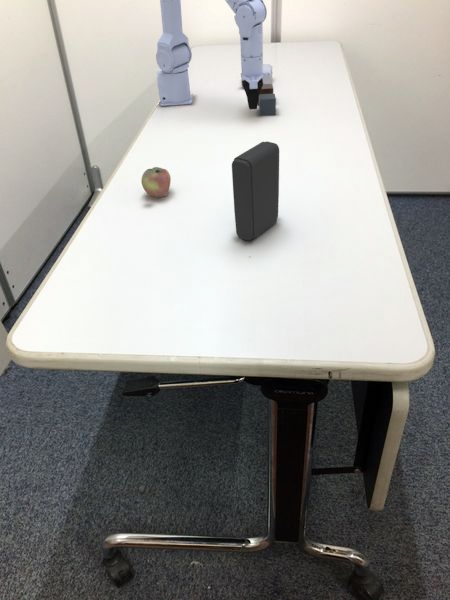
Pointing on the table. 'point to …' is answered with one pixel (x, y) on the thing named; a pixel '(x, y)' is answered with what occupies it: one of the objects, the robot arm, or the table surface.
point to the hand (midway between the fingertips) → (253, 108)
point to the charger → (267, 78)
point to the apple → (156, 182)
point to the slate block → (267, 104)
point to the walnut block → (266, 89)
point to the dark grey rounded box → (256, 189)
